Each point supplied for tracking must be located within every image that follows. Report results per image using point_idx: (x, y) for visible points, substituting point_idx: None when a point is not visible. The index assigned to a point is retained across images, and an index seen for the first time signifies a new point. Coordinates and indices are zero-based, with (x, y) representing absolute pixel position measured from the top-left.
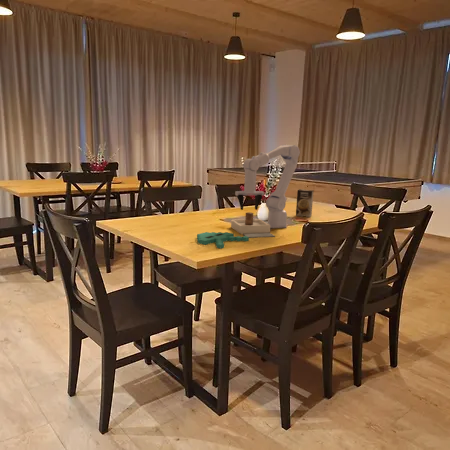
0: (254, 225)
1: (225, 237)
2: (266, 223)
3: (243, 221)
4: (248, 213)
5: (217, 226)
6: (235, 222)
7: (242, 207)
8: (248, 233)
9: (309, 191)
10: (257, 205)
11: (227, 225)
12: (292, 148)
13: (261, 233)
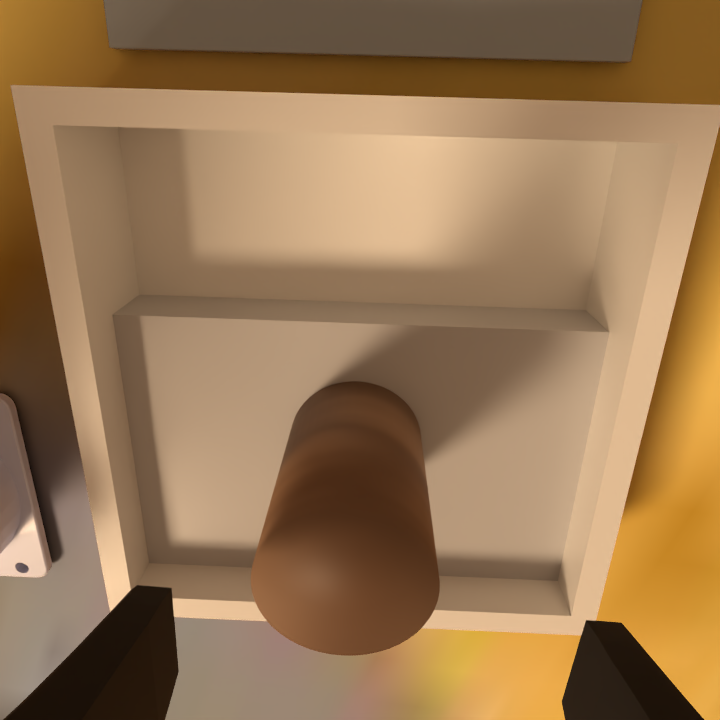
0: (388, 105)
1: None
2: (64, 258)
3: None
4: (391, 549)
5: (706, 617)
6: (635, 448)
7: (647, 676)
8: (519, 55)
9: None
10: (74, 690)
11: (551, 640)
12: None
13: (278, 3)
